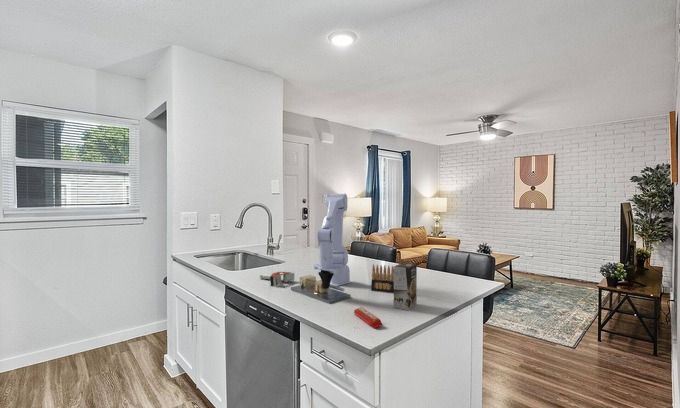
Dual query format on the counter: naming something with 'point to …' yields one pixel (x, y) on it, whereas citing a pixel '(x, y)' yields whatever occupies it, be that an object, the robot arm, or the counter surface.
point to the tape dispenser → (278, 278)
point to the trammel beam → (310, 281)
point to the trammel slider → (320, 287)
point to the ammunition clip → (382, 279)
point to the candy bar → (368, 317)
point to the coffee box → (405, 286)
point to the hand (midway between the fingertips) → (326, 288)
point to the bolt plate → (322, 294)
